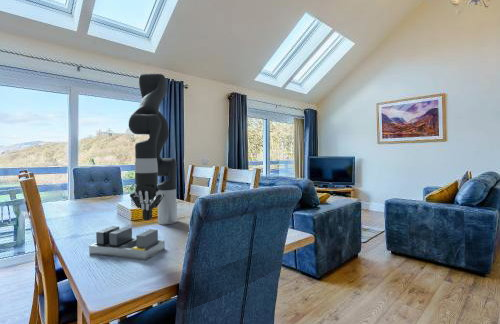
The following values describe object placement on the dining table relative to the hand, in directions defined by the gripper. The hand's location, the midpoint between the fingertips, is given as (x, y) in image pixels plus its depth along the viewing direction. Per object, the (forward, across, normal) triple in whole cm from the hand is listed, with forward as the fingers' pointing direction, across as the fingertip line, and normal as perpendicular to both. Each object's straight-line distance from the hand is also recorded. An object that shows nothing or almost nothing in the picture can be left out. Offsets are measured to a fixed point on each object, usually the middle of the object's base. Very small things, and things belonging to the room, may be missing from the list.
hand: (147, 220), depth 97 cm
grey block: (+11, 0, 0) cm, 11 cm away
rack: (+12, +8, 0) cm, 15 cm away
